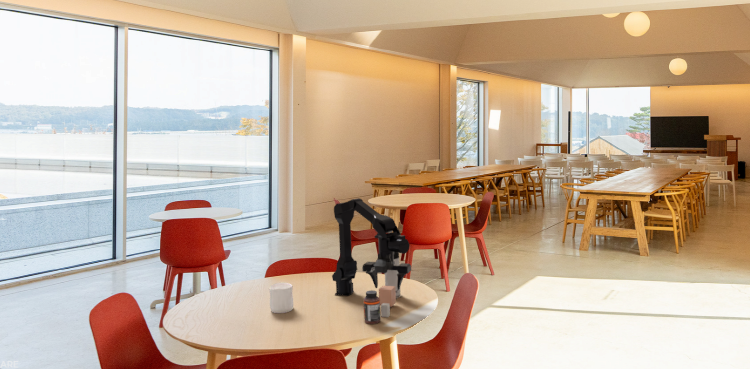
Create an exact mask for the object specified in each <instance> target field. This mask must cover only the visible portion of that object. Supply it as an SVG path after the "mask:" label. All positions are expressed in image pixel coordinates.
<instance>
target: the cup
mask: <svg viewBox="0 0 750 369" xmlns="http://www.w3.org/2000/svg"><path fill="white" fill-rule="evenodd" d="M268 290H269V309H270V312H272V313H273V314H284V313H285V314H286V313H289V312H291V311H292V310H293V309H294V296H293V284H291V283H289V282H276V283H273V284H271V285H270V286H269V288H268Z"/></svg>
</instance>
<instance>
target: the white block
mask: <svg viewBox="0 0 750 369" xmlns="http://www.w3.org/2000/svg"><path fill="white" fill-rule="evenodd" d="M390 309H391V307H390V304H389V303H383V304H382V305H381V306H380V318H389V317H390V315H391V310H390Z"/></svg>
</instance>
